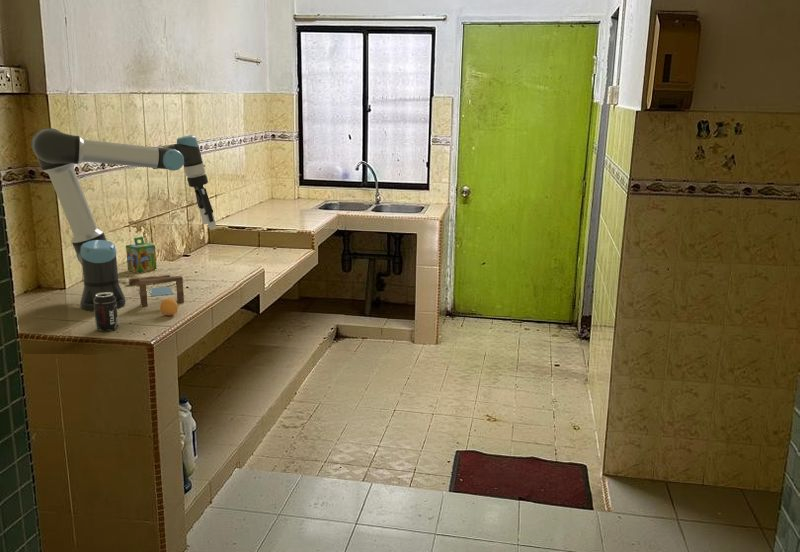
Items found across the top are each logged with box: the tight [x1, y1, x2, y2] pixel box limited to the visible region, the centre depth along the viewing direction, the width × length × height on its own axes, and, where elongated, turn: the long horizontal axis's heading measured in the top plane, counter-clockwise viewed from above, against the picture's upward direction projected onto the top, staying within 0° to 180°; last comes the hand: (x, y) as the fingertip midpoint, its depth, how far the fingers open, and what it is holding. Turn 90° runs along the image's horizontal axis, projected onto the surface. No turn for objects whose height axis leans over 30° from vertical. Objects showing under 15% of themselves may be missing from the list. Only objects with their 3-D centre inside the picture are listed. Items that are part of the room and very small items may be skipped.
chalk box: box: [125, 236, 157, 274], centre depth 311 cm, size 9×9×15 cm
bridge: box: [138, 275, 185, 307], centre depth 260 cm, size 3×15×10 cm, turn 117°
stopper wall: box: [128, 274, 171, 286], centre depth 291 cm, size 16×2×2 cm, turn 117°
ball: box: [159, 298, 179, 316], centre depth 247 cm, size 6×6×6 cm
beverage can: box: [93, 292, 119, 332], centre depth 230 cm, size 7×7×12 cm
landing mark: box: [137, 286, 175, 297], centre depth 277 cm, size 12×12×1 cm
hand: (210, 226), depth 285 cm, fingers open, 13 cm apart
